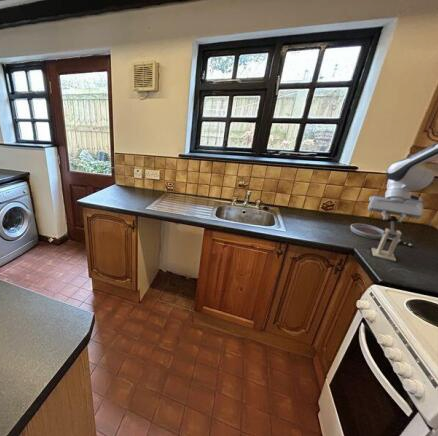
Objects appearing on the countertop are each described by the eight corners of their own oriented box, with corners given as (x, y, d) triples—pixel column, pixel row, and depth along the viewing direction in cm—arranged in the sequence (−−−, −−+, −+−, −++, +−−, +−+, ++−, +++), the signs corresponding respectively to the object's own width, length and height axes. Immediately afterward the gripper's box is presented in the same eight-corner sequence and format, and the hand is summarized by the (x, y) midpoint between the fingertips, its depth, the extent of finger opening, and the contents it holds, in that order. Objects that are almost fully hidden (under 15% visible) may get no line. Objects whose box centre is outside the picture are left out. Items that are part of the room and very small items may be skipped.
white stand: (371, 249, 127) (381, 225, 122) (391, 254, 123) (402, 229, 118) (373, 257, 120) (384, 232, 115) (395, 262, 116) (407, 236, 110)
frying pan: (410, 247, 126) (346, 226, 146) (407, 252, 127) (344, 231, 148) (416, 238, 135) (356, 220, 156) (414, 243, 137) (354, 224, 157)
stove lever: (386, 218, 126) (389, 213, 124) (395, 220, 124) (398, 215, 122) (385, 237, 118) (388, 232, 116) (395, 239, 117) (398, 234, 114)
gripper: (372, 191, 130) (367, 213, 126) (426, 198, 119) (423, 222, 115) (368, 197, 135) (363, 219, 131) (420, 205, 124) (417, 228, 120)
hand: (392, 220), depth 123 cm, fingers closed on stove lever, 4 cm apart
